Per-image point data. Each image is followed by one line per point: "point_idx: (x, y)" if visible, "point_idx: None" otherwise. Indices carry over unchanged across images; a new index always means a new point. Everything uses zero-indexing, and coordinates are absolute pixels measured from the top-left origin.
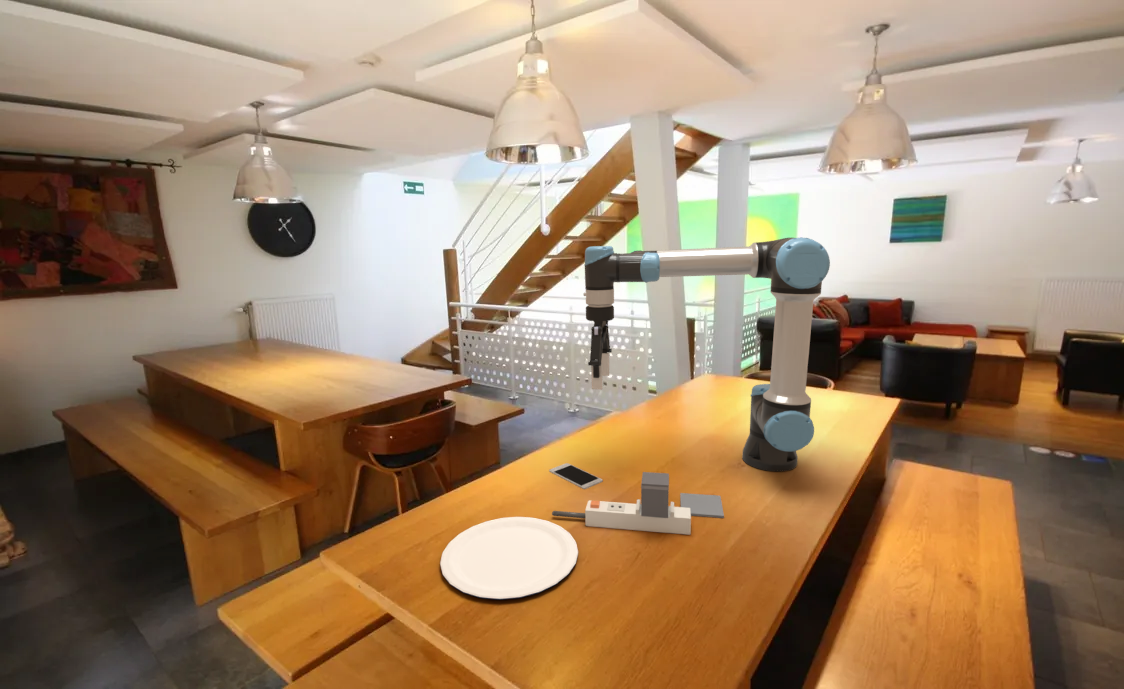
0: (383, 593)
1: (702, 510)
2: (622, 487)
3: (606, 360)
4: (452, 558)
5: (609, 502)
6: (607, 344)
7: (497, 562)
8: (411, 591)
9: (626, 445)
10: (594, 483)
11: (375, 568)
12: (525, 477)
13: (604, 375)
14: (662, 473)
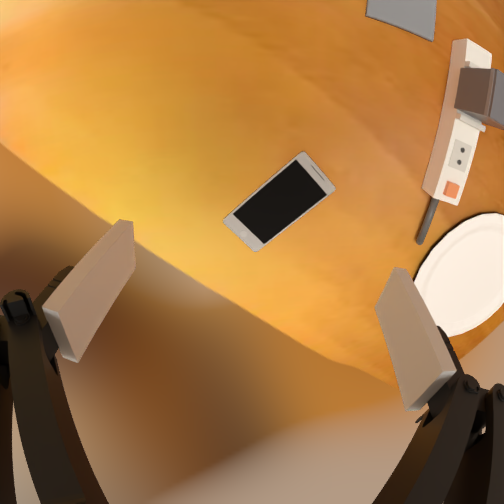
0: (468, 352)
1: (425, 7)
2: (332, 114)
3: (89, 290)
4: (459, 327)
5: (445, 163)
6: (45, 399)
7: (476, 290)
8: (475, 338)
9: (120, 102)
10: (318, 169)
11: None
12: (280, 285)
13: (133, 245)
14: (496, 80)
